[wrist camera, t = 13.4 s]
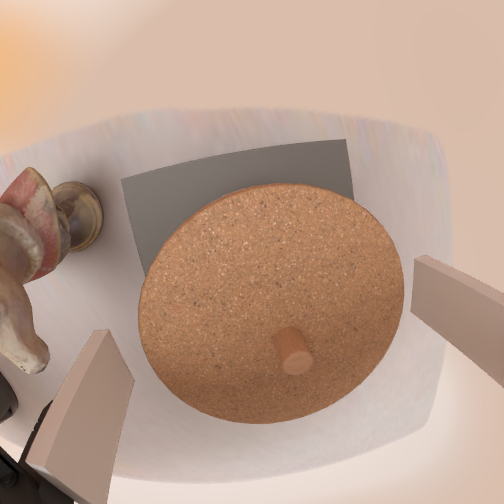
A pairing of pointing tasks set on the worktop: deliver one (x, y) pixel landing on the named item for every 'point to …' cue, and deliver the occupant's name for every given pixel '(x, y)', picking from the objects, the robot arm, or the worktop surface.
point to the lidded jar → (271, 303)
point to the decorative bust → (37, 253)
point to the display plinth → (225, 185)
